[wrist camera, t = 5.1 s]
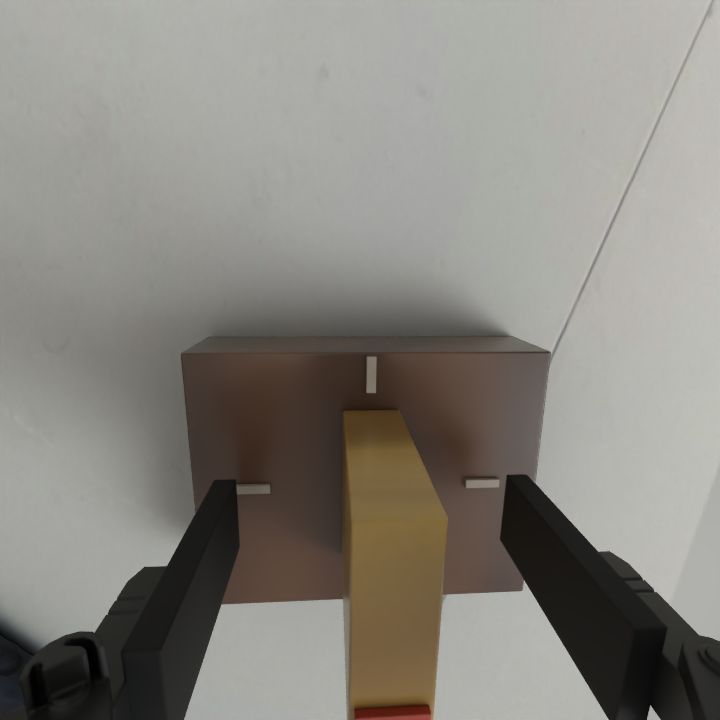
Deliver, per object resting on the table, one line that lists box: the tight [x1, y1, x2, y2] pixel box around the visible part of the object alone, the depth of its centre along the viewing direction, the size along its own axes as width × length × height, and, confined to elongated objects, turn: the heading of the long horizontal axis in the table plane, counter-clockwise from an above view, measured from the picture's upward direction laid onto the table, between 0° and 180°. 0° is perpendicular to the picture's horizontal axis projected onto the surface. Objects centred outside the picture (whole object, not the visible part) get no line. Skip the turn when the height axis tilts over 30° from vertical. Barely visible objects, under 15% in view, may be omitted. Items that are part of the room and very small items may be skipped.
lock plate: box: [181, 336, 551, 604], centre depth 18 cm, size 14×11×4 cm
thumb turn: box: [342, 410, 448, 720], centre depth 13 cm, size 6×2×7 cm, turn 179°
